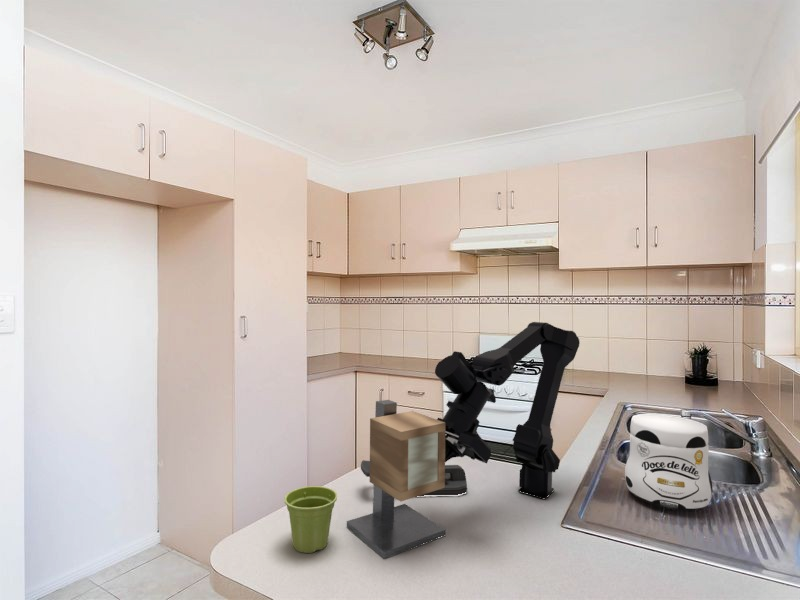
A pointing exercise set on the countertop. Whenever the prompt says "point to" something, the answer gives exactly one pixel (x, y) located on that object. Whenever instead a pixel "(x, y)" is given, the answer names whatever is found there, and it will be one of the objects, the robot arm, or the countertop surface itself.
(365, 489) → the countertop surface
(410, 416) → the cardboard box
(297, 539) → the plant pot
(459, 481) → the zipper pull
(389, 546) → the post stand
